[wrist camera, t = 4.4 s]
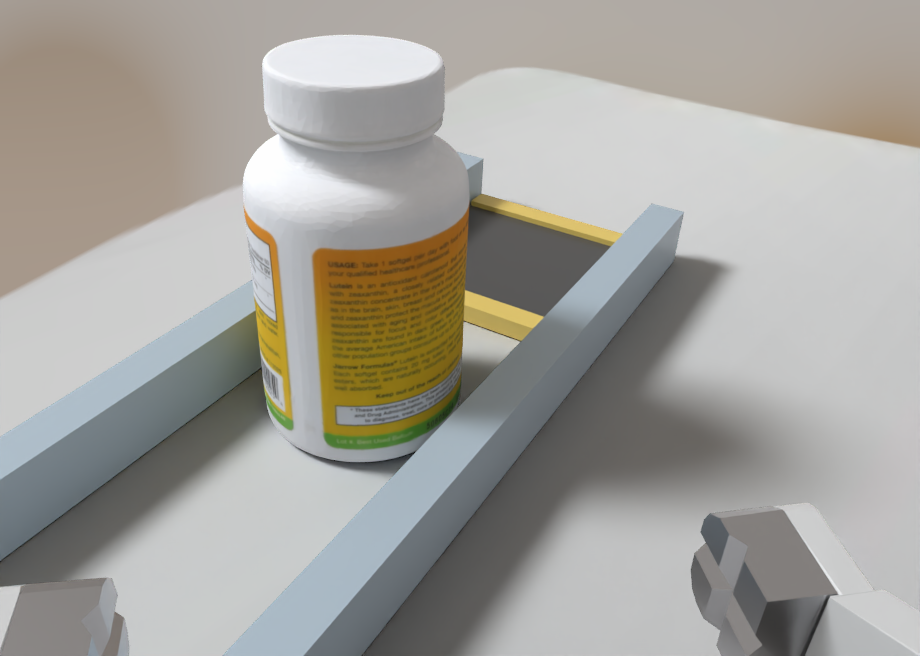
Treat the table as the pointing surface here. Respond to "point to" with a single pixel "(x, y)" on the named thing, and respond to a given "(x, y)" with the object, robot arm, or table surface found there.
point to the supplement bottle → (357, 247)
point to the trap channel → (431, 467)
